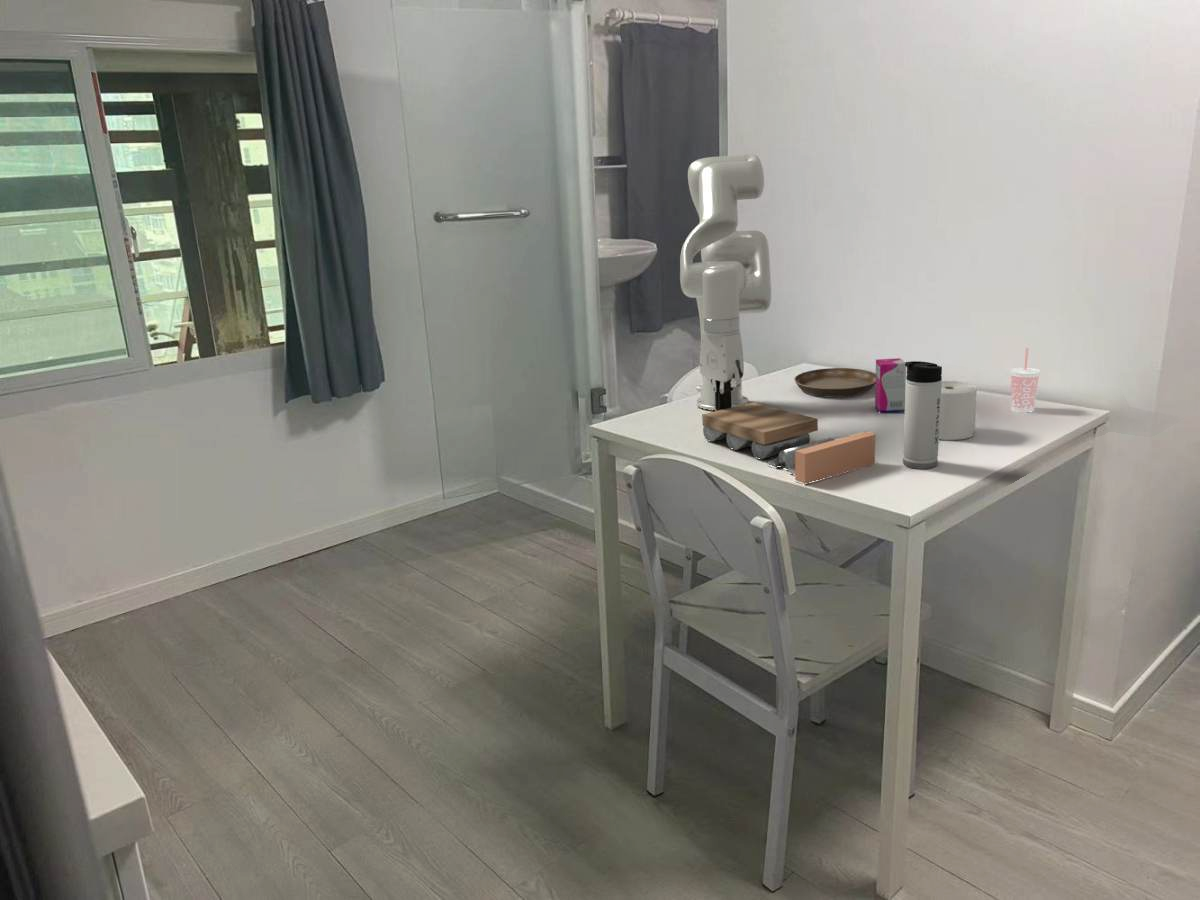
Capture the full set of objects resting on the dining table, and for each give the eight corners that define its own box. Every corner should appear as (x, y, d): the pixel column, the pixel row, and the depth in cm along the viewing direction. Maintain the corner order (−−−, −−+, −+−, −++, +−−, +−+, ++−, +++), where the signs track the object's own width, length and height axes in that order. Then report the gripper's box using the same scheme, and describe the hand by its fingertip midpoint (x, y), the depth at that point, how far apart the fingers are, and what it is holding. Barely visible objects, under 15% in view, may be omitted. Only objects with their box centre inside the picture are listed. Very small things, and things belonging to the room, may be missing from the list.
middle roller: (726, 447, 192) (726, 429, 191) (770, 436, 198) (770, 418, 196) (738, 452, 189) (738, 433, 187) (783, 440, 194) (783, 422, 193)
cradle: (768, 466, 180) (768, 461, 180) (821, 451, 187) (821, 446, 186) (795, 476, 174) (795, 470, 173) (849, 460, 180) (849, 455, 180)
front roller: (751, 456, 185) (751, 437, 184) (796, 444, 191) (796, 426, 190) (764, 461, 182) (764, 442, 181) (810, 449, 188) (810, 430, 187)
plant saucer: (836, 405, 219) (836, 391, 218) (777, 390, 236) (777, 377, 235) (896, 389, 230) (896, 376, 229) (835, 376, 246) (835, 364, 245)
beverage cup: (1007, 413, 204) (1012, 350, 200) (1007, 405, 209) (1011, 345, 205) (1037, 414, 202) (1043, 351, 197) (1036, 406, 207) (1041, 345, 203)
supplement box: (899, 405, 215) (901, 357, 211) (905, 412, 209) (907, 363, 206) (874, 406, 215) (875, 358, 212) (879, 413, 210) (880, 364, 206)
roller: (823, 453, 185) (825, 434, 183) (837, 460, 182) (839, 441, 180) (777, 466, 179) (779, 447, 177) (791, 473, 176) (793, 454, 174)
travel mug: (895, 460, 178) (899, 359, 172) (928, 457, 179) (933, 356, 173) (908, 471, 172) (913, 366, 166) (943, 467, 173) (948, 363, 167)
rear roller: (703, 439, 199) (702, 421, 197) (746, 428, 204) (746, 411, 203) (714, 443, 195) (714, 425, 194) (758, 432, 201) (758, 414, 200)
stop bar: (795, 481, 171) (795, 450, 169) (864, 460, 179) (865, 431, 178) (804, 485, 169) (804, 454, 167) (874, 463, 177) (875, 434, 176)
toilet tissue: (978, 440, 187) (981, 392, 184) (916, 441, 189) (919, 393, 186) (968, 425, 197) (971, 380, 194) (909, 426, 199) (911, 381, 196)
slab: (702, 425, 197) (702, 414, 196) (753, 413, 203) (753, 402, 202) (764, 444, 180) (764, 432, 179) (817, 430, 186) (817, 418, 186)
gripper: (686, 324, 199) (689, 406, 205) (729, 332, 187) (731, 419, 192) (714, 319, 203) (716, 400, 208) (758, 327, 190) (759, 413, 196)
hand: (723, 409), depth 200 cm, fingers closed
